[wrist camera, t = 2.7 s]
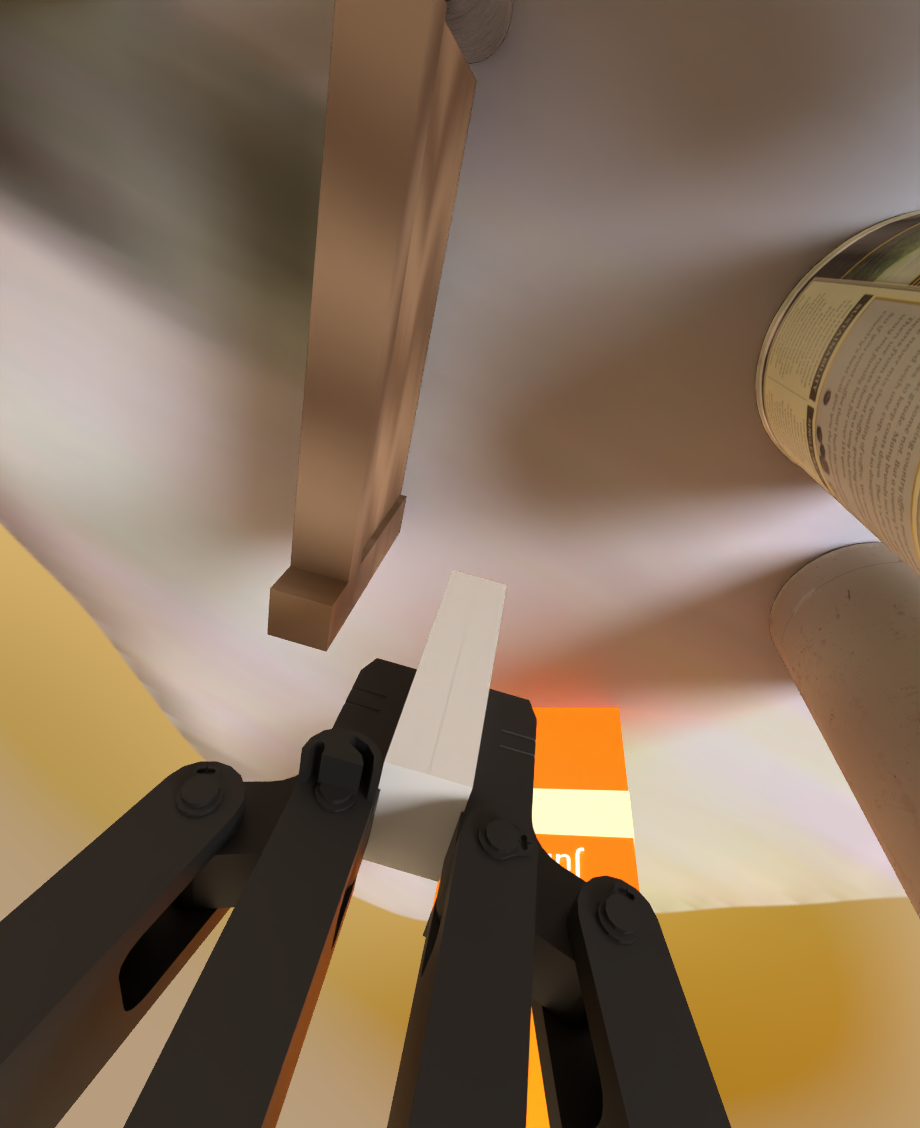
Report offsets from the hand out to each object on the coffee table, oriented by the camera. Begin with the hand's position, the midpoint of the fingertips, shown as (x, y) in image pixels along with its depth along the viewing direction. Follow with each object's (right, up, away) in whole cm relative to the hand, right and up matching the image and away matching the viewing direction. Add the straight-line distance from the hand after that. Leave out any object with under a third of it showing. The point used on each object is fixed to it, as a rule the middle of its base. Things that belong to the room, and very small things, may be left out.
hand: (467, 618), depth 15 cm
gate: (-2, +11, +9) cm, 14 cm away
